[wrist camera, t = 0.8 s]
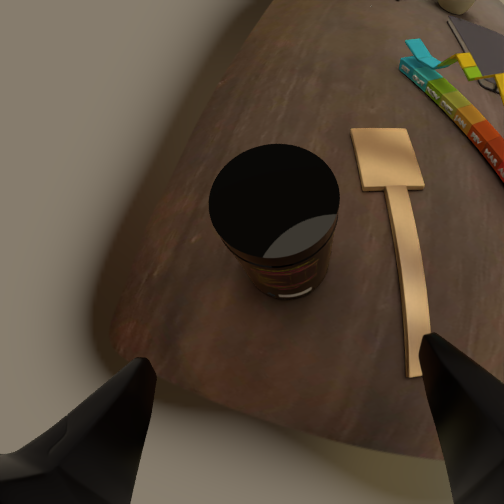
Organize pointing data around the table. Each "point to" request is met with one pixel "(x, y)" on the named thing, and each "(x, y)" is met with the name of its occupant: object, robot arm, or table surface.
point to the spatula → (398, 222)
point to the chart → (456, 98)
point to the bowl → (456, 5)
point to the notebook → (481, 48)
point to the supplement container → (277, 217)
